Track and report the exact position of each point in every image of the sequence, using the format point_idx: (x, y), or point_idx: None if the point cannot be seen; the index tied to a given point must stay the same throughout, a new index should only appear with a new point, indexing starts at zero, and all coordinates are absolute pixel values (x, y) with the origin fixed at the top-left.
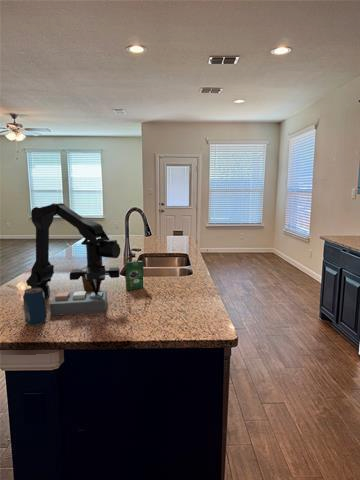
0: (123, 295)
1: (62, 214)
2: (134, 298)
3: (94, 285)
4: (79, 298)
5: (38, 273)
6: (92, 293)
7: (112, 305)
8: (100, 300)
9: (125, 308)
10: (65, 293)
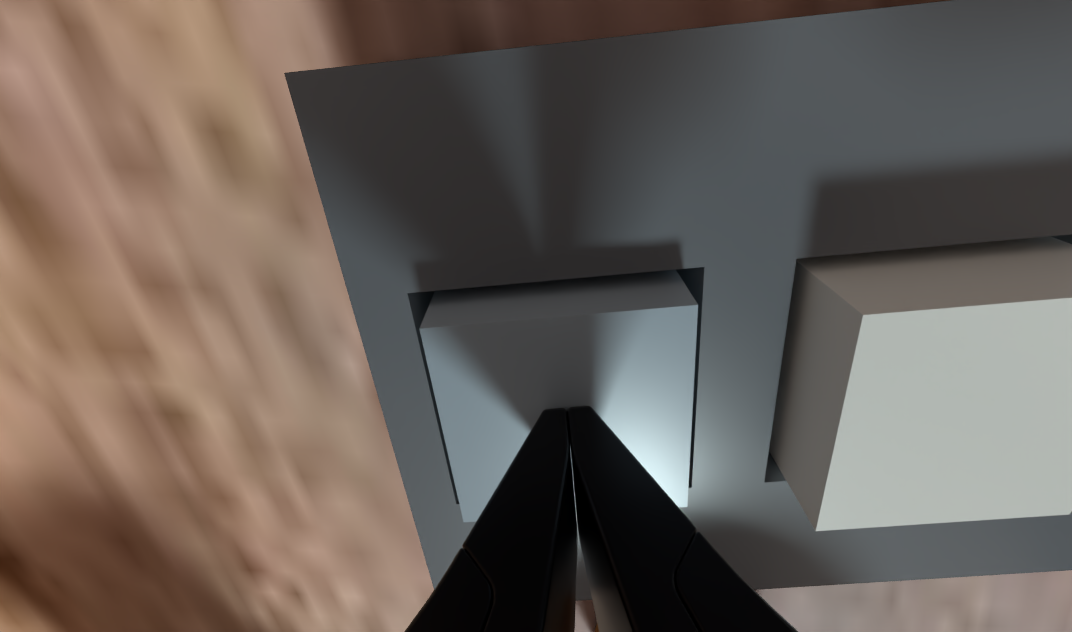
0: (309, 591)
1: None
2: (134, 515)
3: (629, 593)
4: (942, 265)
5: None
6: (662, 464)
7: (340, 326)
8: (404, 112)
9: (85, 200)
10: None
